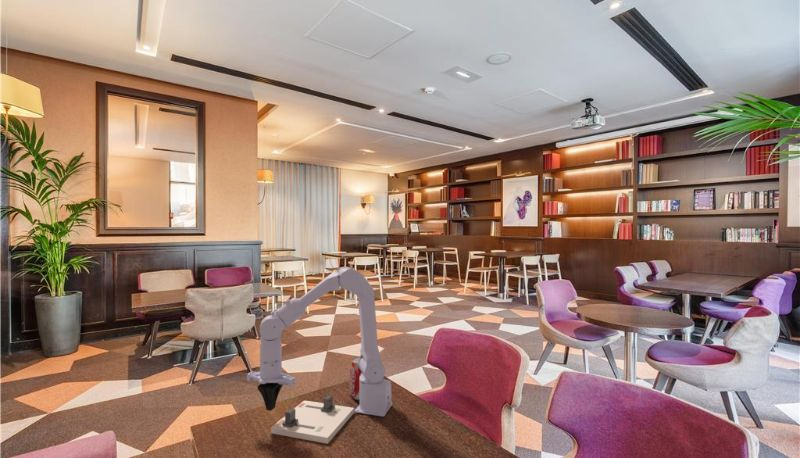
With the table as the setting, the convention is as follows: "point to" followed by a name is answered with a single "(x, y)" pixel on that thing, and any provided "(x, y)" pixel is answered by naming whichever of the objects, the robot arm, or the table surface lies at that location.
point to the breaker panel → (315, 422)
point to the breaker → (328, 404)
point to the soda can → (355, 379)
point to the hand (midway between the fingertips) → (270, 408)
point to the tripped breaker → (290, 418)
